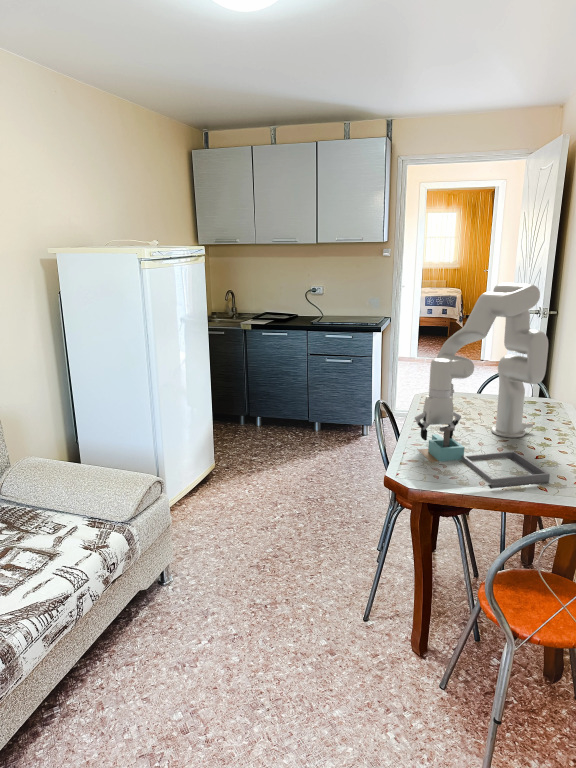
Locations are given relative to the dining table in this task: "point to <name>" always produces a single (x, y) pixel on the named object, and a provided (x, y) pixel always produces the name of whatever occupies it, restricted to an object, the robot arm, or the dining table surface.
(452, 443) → the teal hollow frame
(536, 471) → the tray
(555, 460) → the dining table surface
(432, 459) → the stake board
